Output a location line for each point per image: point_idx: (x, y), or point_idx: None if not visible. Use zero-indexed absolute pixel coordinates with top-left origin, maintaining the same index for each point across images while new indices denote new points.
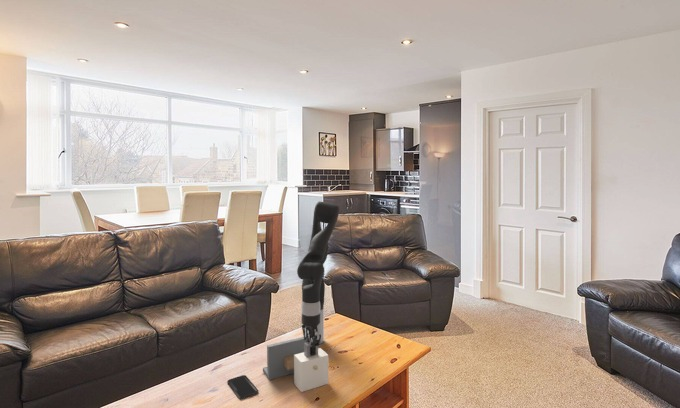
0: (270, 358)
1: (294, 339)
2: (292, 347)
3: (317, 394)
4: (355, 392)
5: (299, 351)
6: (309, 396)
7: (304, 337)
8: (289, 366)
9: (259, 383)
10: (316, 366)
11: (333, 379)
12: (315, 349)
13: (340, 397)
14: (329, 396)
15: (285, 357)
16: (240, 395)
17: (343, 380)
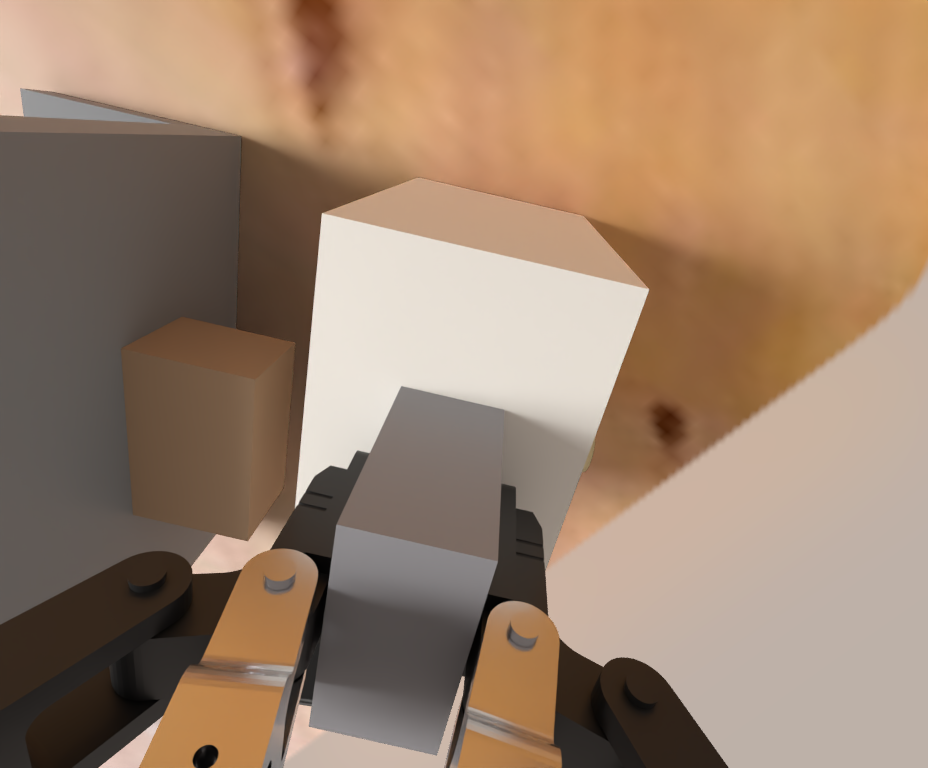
0: None
1: None
2: (50, 484)
3: (629, 391)
4: (917, 106)
5: (102, 353)
6: (600, 446)
7: (138, 704)
8: (271, 494)
9: (237, 569)
10: (590, 457)
11: (565, 118)
12: (544, 579)
13: (825, 283)
14: (730, 341)
15: (141, 504)
16: (309, 694)
17: (663, 38)
